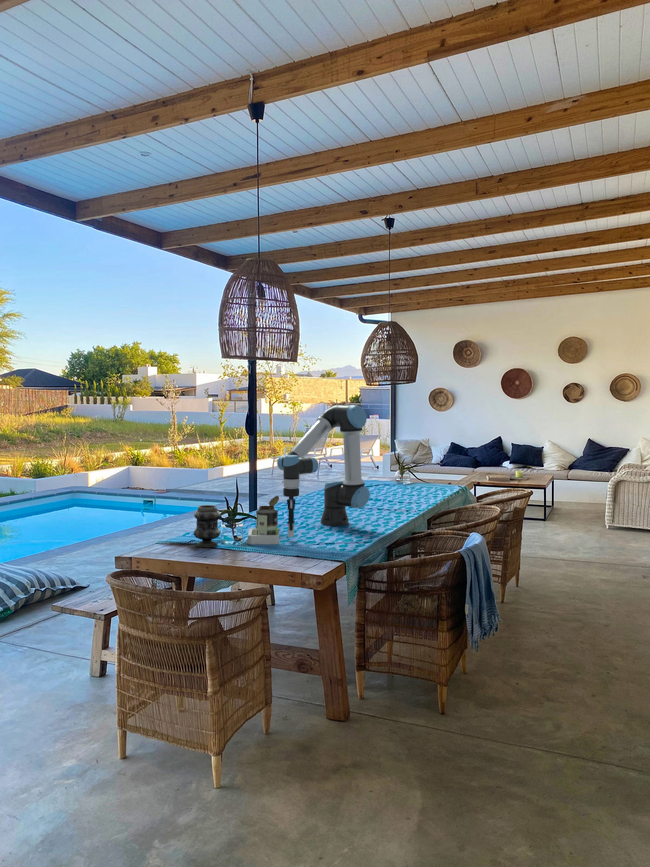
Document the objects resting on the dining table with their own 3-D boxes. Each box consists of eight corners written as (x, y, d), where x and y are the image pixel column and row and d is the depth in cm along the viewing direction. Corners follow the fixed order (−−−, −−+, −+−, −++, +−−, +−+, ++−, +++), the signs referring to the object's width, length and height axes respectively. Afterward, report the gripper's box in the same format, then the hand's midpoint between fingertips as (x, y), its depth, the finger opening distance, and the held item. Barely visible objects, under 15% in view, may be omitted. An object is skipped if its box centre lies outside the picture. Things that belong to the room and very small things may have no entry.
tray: (279, 536, 303) (279, 528, 303) (279, 544, 287) (279, 535, 287) (249, 536, 302) (249, 528, 302) (247, 544, 286) (247, 535, 286)
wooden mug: (270, 531, 314) (271, 496, 313) (252, 527, 323) (252, 493, 322) (283, 529, 321) (283, 494, 320) (264, 525, 329) (265, 491, 328)
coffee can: (278, 537, 300) (278, 509, 299) (277, 542, 290) (277, 513, 289) (256, 537, 300) (256, 509, 299) (255, 542, 290) (255, 512, 289)
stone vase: (224, 546, 282) (224, 507, 281) (198, 549, 276) (198, 509, 275) (215, 541, 292) (215, 503, 291) (190, 543, 286) (190, 505, 285)
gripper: (283, 485, 301) (283, 533, 302) (283, 489, 288) (283, 539, 289) (298, 485, 301) (298, 533, 302) (299, 489, 288) (299, 539, 289)
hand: (290, 536), depth 296 cm, fingers closed
